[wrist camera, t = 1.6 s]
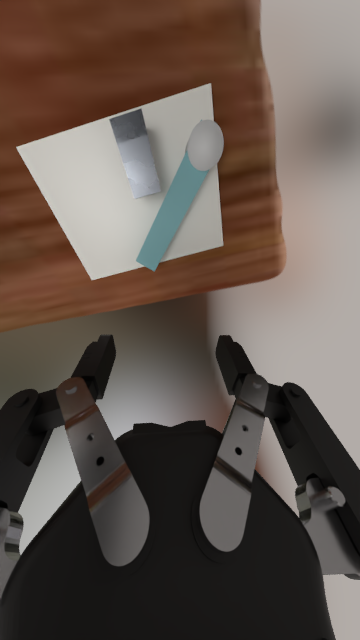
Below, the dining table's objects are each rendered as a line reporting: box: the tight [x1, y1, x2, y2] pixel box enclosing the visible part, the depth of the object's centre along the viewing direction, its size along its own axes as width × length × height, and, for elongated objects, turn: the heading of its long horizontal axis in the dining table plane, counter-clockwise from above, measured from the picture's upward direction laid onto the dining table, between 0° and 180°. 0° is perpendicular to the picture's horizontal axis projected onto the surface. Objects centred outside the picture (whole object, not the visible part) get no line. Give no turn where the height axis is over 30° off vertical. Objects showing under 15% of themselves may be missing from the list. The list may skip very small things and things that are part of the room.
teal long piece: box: [136, 120, 224, 271], centre depth 21 cm, size 16×4×4 cm, turn 148°
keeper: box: [109, 109, 161, 199], centre depth 19 cm, size 3×6×5 cm, turn 13°
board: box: [16, 83, 223, 280], centre depth 23 cm, size 22×16×2 cm
